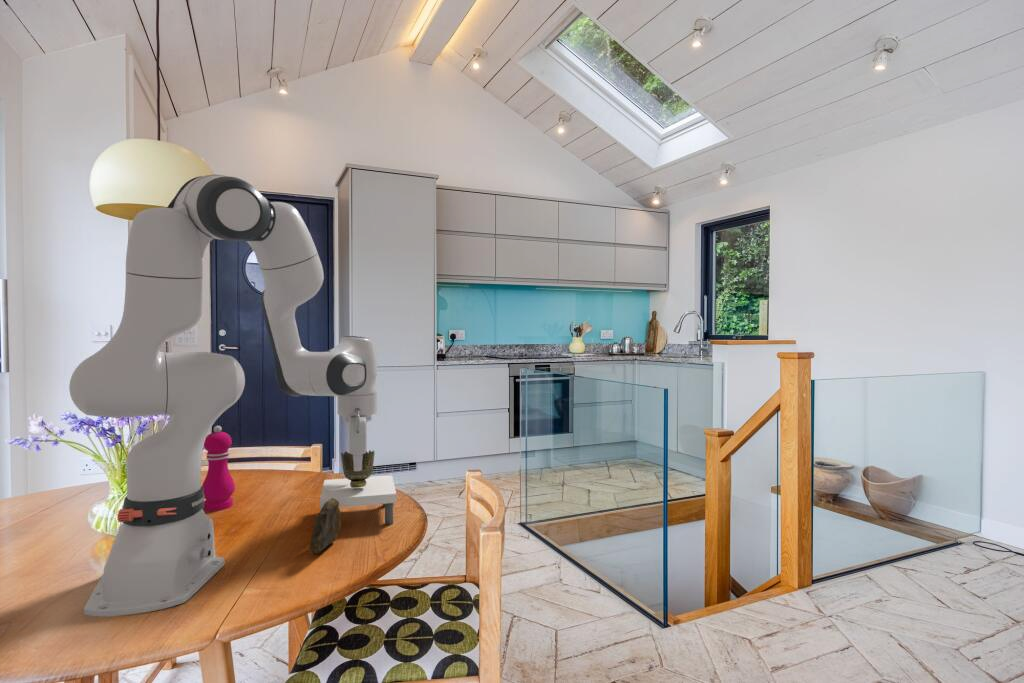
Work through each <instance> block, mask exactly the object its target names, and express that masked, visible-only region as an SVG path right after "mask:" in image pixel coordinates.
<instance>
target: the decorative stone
mask: <svg viewBox="0 0 1024 683" xmlns="http://www.w3.org/2000/svg"><path fill="white" fill-rule="evenodd" d="M338 506H339V502H338V501H337V500H336V499H334V498H331V499H329V500H328V501H327V502H325V504H324V506H323V507H322V509H320V510H319V513H317V516H316V519H315V522H314V524H313V531H312V533H311V540H310V543H309V544H310V545H309V549H310V550H312V551H313V553H314V554H319V553H320V552H322V550H324V549H325V548H327V547H328V545H330V544H333V543H335V541H336V540H337V538H338V535H339V532H340V530H341V527H342V519H341V518H342V517H341V510H340V507H338Z"/></svg>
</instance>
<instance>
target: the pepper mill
mask: <svg viewBox="0 0 1024 683" xmlns="http://www.w3.org/2000/svg"><path fill="white" fill-rule="evenodd" d="M222 429H223V428H222V426H220V425H216V426H213V432H211V433H210V434H209V433H208V434H207V436H206V439H205V442H204V446H203V449H205V451H206V453H205V456H206V460H207V461H208V469H207V474H206V476H205V478H204V480H203V482H202V484H201V486H202V487H203V490H204V496H205V499H204V507H203V510H204V511H212V512H214V511H224V510H226V509H230V508H232V507H233V505H234V498H233V497H231V496H233V494H234V492H235V490H236V486H235V480H234V478H233V477H232V475H231V473H230V470H229V466H228V461H229V458H230V456H231V455H230V453H231V452H230V450H229V449H230V448H231V447H232V441H233V440H232V437H231V435H230V434H228V433H227V432H224V431H222Z"/></svg>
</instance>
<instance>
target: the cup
mask: <svg viewBox="0 0 1024 683" xmlns="http://www.w3.org/2000/svg"><path fill="white" fill-rule="evenodd" d="M375 452H376V451H375V450H369V451H367V450H366V453H365V454H363V459H362V470H361V471H354V462H353V454H350V453H349V451H344V452H341V453H340V455H341V463H342V471H343V474H344V477H345V479H346V478H347V479H348V480H351V482H350V486H351V487H352V488H355V487H364V486H366V483H367V482H366V480H365V479H367V478H369V477H371V475H372V473H373V469H374V462H375Z"/></svg>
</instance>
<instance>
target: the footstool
mask: <svg viewBox="0 0 1024 683" xmlns="http://www.w3.org/2000/svg"><path fill="white" fill-rule="evenodd" d="M365 480H366V482H367V483H366V486H364V487H355V488H352V487H351V486H350V482H351V480H348V479H347V478H346V477H345V478H334V479H333V478H332V479H324V481H323V485H322V490H321V494H320V498H319V509H320V510H321V509H322V507H323V506H324V504H325V502H327V501H328V500H329V499H331V498H334V499H336V500H337V501H338V502H339V506H338V507H339V508H348V507H360V506H373V505H382V507H384V525H387V526H388V525H389V526H390V525H393V524H394V504H395V503H396V504H397V490H396V486H395V482H394V478H393V475H392V474H391V475H377V476H375V475H374V476H370V477H369V478H367V479H365Z"/></svg>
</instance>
